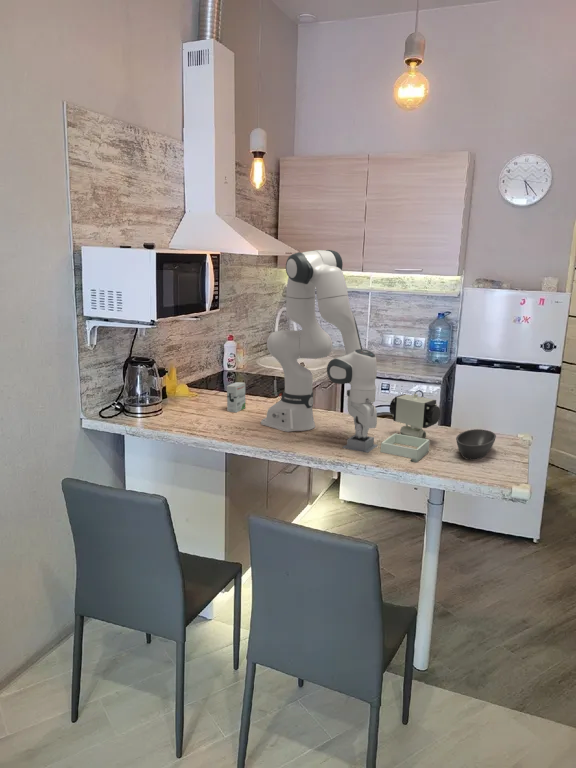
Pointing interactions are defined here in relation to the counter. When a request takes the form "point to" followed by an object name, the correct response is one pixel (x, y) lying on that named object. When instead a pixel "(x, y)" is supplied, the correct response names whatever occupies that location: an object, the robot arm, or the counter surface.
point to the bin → (405, 451)
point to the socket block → (360, 444)
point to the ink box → (236, 397)
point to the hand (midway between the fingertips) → (360, 433)
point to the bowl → (475, 443)
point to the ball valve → (414, 414)
